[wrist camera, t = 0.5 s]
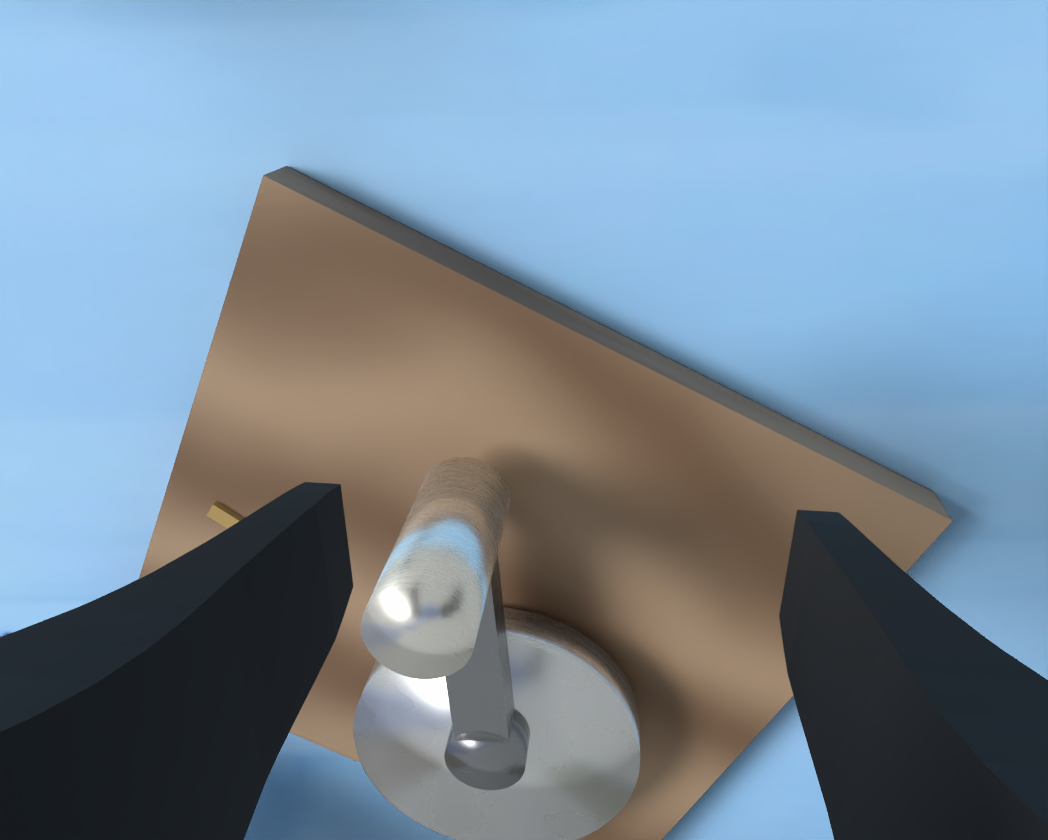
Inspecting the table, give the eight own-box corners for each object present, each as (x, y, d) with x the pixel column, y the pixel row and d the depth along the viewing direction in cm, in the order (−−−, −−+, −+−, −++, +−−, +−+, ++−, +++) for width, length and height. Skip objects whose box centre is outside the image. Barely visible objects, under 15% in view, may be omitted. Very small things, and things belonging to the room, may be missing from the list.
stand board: (627, 840, 31) (626, 882, 29) (138, 627, 29) (111, 661, 27) (933, 492, 23) (955, 525, 21) (286, 165, 21) (260, 176, 19)
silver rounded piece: (641, 817, 27) (644, 1027, 22) (388, 803, 29) (328, 999, 23) (634, 437, 21) (636, 591, 15) (310, 441, 22) (199, 586, 17)
